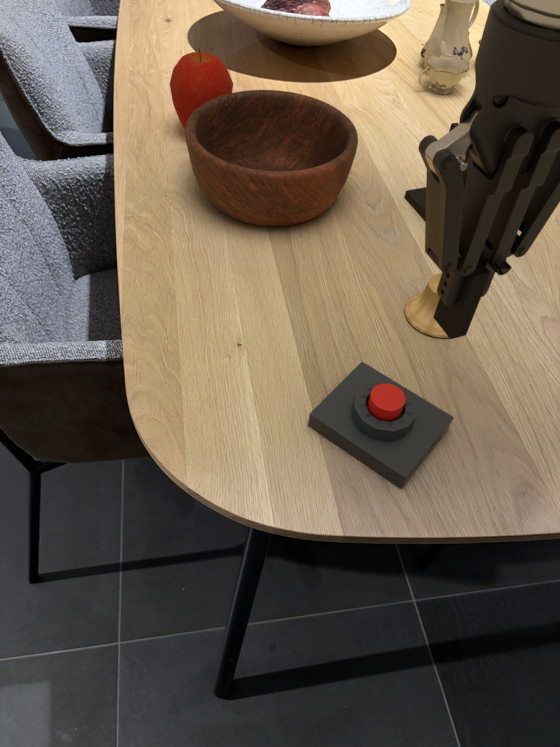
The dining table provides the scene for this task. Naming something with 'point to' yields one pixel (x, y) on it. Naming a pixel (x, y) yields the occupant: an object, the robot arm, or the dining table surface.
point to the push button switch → (380, 426)
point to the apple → (198, 82)
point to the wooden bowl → (270, 155)
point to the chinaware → (449, 45)
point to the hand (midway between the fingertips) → (449, 326)
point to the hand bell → (425, 309)
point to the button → (386, 402)
